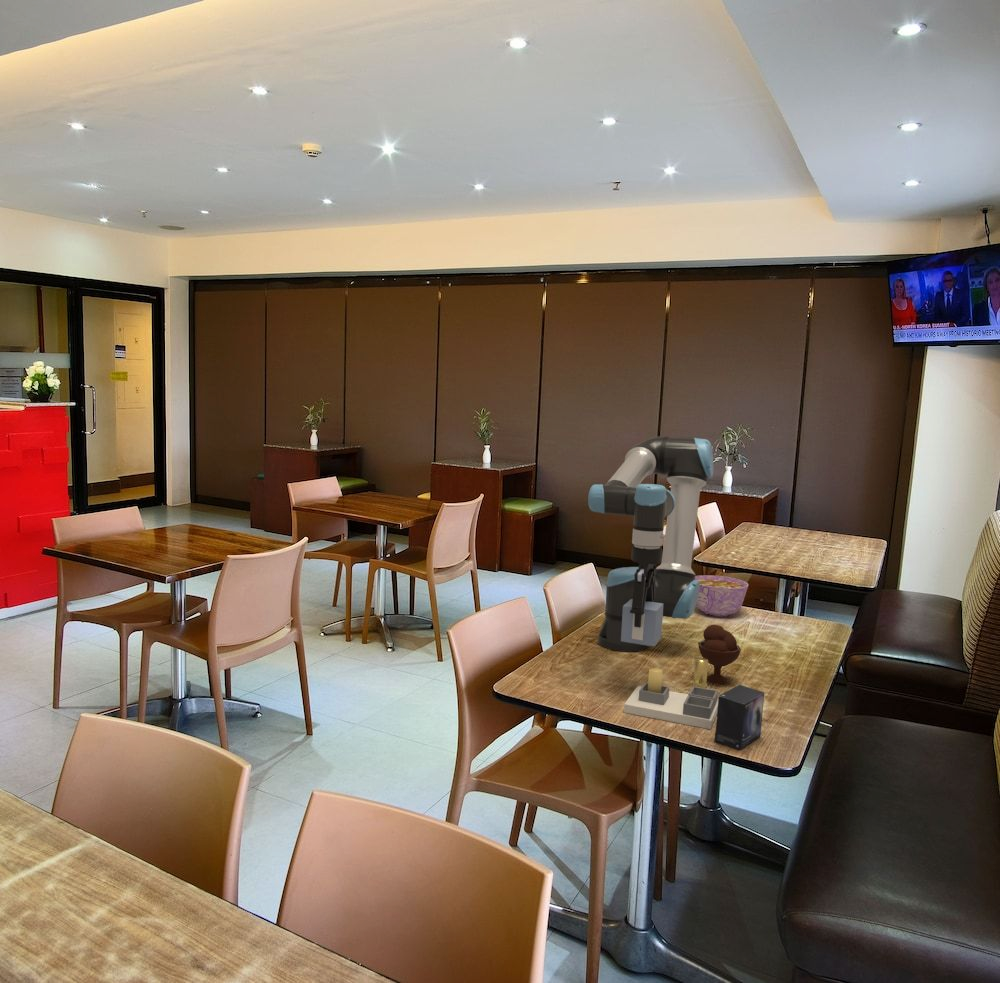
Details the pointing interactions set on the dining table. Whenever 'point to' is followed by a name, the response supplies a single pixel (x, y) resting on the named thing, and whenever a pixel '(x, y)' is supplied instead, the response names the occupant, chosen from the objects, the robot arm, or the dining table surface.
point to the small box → (739, 716)
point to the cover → (651, 623)
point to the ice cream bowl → (718, 650)
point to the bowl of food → (720, 594)
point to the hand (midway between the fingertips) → (641, 634)
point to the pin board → (673, 703)
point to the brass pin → (700, 672)
